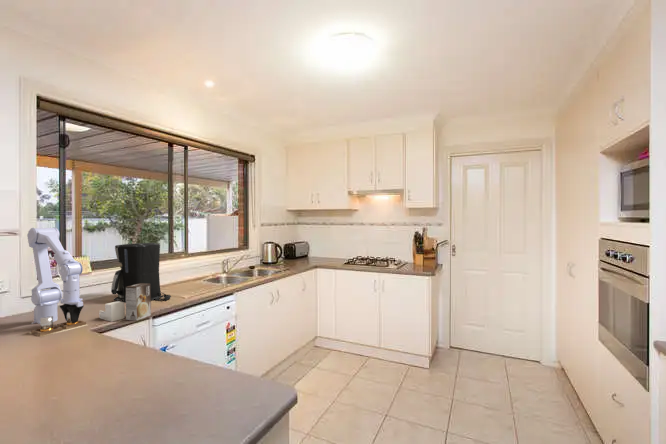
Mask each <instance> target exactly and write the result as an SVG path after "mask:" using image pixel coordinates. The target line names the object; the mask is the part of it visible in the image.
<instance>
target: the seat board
mask: <svg viewBox="0 0 666 444" xmlns="http://www.w3.org/2000/svg"><path fill="white" fill-rule="evenodd" d="M85 326H88V324H87V321H85V320H81V319H78V323H77V324H73V325H69V326H67V321H65V322H61V323H57V324H56V325H54V324H53V330H49V331H45V332H40V329H41V327H40V328H35V329H31V330H30V332H29V334H31V335H33V336H37V337H41V338H44V337H47V336H51V335H56V334H58V333H59V334H60V333H63V332H67V331H71V330H74V329H79V328H82V327H85Z"/></svg>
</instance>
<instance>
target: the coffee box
mask: <svg viewBox="0 0 666 444" xmlns="http://www.w3.org/2000/svg"><path fill="white" fill-rule="evenodd" d="M125 289H126V302H125V320H126V321H128V320H129V321H138V320H139V321H140V320H141V319H145V318H147V317H149V316H152V303H151V301H152V300H151V291H150V284H145V283H139V284H135V285H131V286H127V287H125Z"/></svg>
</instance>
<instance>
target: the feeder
mask: <svg viewBox="0 0 666 444" xmlns="http://www.w3.org/2000/svg"><path fill="white" fill-rule="evenodd" d="M104 305H105V306H104V307H105V309H104V310H99V311H98V315H99V316H98V317H99V319H101V320H104V321H107V322H116V321H120V320H123V319H124V320H125V319H126V302H123V301H113V302H108V303H105V304H104Z"/></svg>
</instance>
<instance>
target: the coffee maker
mask: <svg viewBox="0 0 666 444" xmlns="http://www.w3.org/2000/svg"><path fill="white" fill-rule="evenodd" d="M114 251H115V256H116V260H117V262H118V263H120V265H121V266H120V267H119V268H120V269H119V270H117V271H115V273H114V275H113V279H112V282H111V283H112V284H111V288H110V289H111V294H112V295H117V296H116V297H114V298H113V299H112V300H113V301H115V300H116V301H115V302H117V301H120V302H125V303H126V289H125V287H127V286H131V285H135V284H139V283H145V284H150V291H151V301H154V299H155V301H156V302H157V301H164V302H166V301H168V300H169V299H171V298H172V296H171V295H170V294H166V293H165V292H161V283H160V258H161V257H160V254H161V244H160V243H155V242H137V243H124V244H123V243H122V244H117V245H115V246H114Z"/></svg>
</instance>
